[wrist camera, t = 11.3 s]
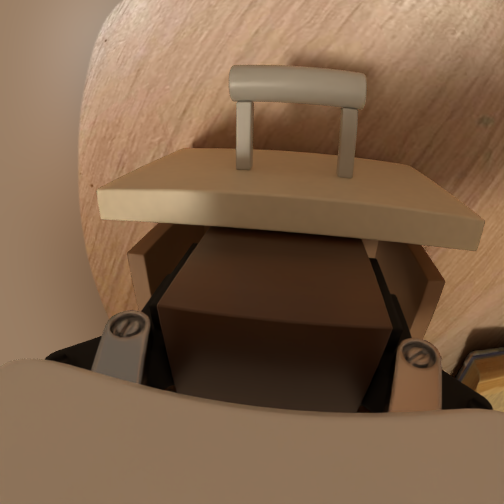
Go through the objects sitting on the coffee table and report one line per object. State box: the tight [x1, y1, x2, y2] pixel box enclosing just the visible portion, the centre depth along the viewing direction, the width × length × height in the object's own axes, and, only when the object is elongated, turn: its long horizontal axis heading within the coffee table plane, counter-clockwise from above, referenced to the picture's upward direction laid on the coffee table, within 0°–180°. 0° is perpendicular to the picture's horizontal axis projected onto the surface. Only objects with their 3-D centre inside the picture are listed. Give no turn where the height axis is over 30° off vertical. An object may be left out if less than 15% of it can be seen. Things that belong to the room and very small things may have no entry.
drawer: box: [97, 65, 485, 412], centre depth 15 cm, size 19×14×9 cm
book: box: [455, 347, 504, 412], centre depth 23 cm, size 25×17×6 cm
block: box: [157, 226, 392, 413], centre depth 9 cm, size 5×5×5 cm
